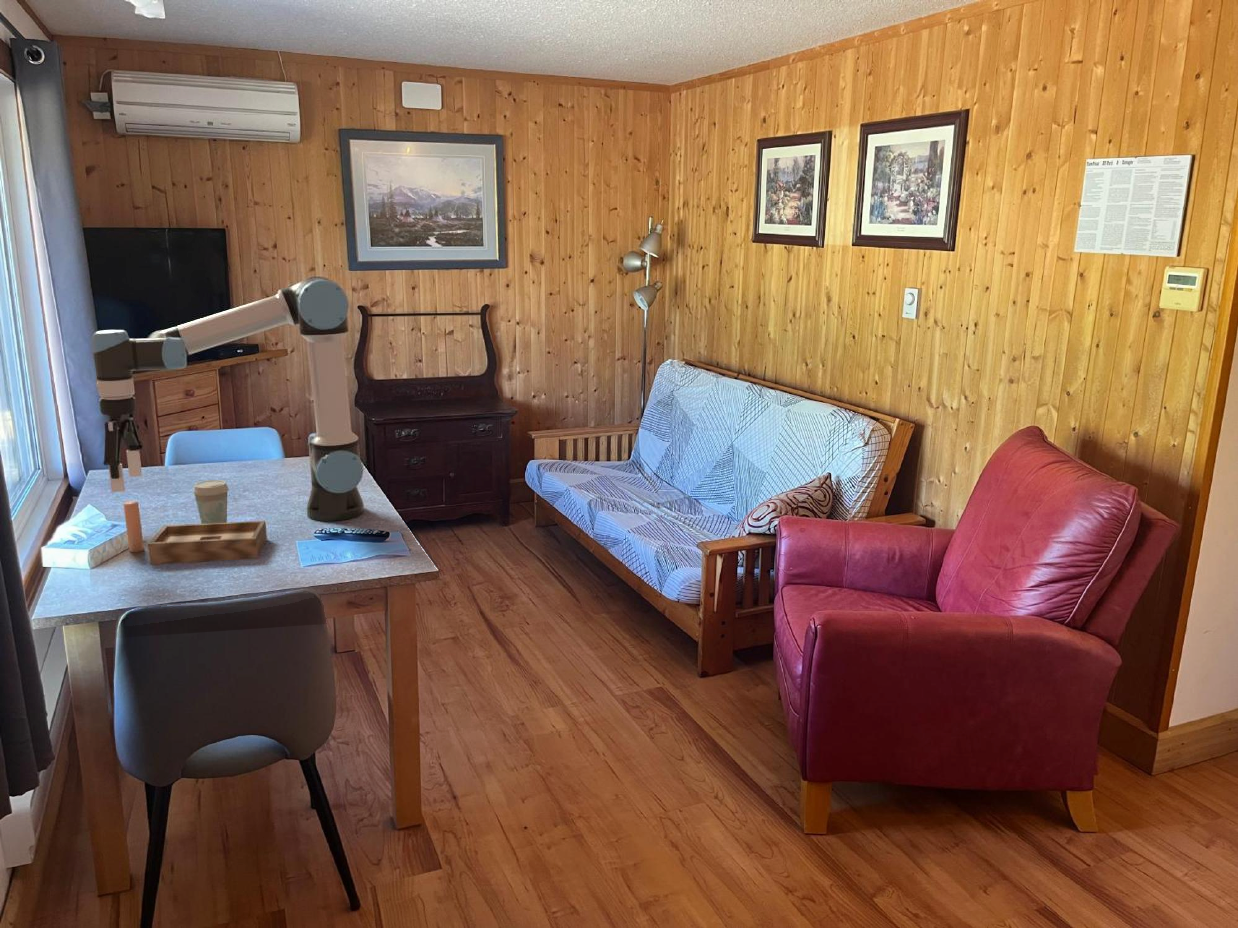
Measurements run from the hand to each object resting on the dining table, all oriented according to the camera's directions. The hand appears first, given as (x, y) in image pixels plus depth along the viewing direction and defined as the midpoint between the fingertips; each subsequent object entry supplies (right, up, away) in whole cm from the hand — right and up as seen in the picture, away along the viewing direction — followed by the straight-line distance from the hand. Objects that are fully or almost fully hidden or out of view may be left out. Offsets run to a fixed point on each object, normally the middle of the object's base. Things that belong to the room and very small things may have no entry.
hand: (127, 483), depth 229 cm
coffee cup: (+12, -12, +21) cm, 27 cm away
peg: (0, -16, +4) cm, 17 cm away
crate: (+19, -17, +4) cm, 25 cm away
